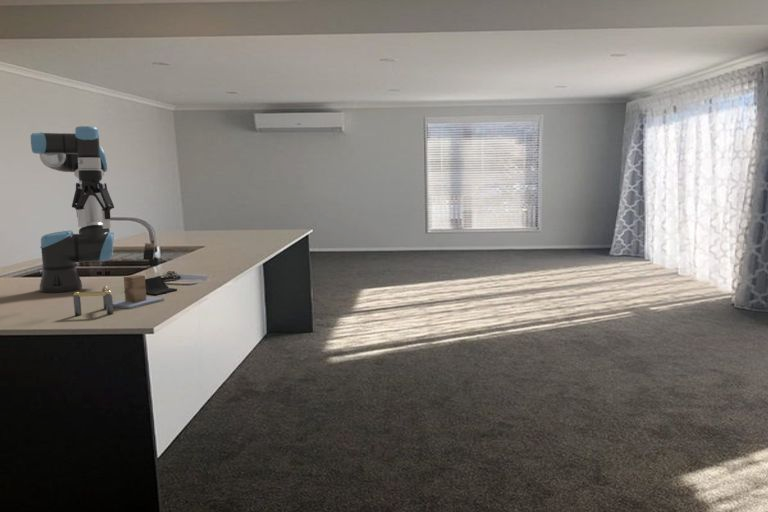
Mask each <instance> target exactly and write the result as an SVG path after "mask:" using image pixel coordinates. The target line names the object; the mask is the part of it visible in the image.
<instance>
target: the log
mask: <svg viewBox="0 0 768 512" xmlns="http://www.w3.org/2000/svg"><path fill="white" fill-rule="evenodd" d="M158 276H161V278H162V279H163V281H164V283H169V282H176V281H179V280H181V279H182V277H181V275H179V273H178V272H175V271H174V270H168V271H167V272H166V273H165V274H163V275H158ZM158 276H156V277H158Z"/></svg>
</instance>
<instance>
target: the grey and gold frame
mask: <svg viewBox="0 0 768 512" xmlns="http://www.w3.org/2000/svg"><path fill="white" fill-rule="evenodd" d="M72 297H73V309H74V316H75V317H79V316H82V303H81V301H82V300H81V297H102V301H103V303H102V304H103V310H106V315H107V316H108V315H113V314H114V306H113V302H114V301H113V293H112V291H111V290H110V288H109V287H108V285H105V286H103V287H102V291H85V292H83V291H75V292H74V293H73V295H72Z"/></svg>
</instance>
